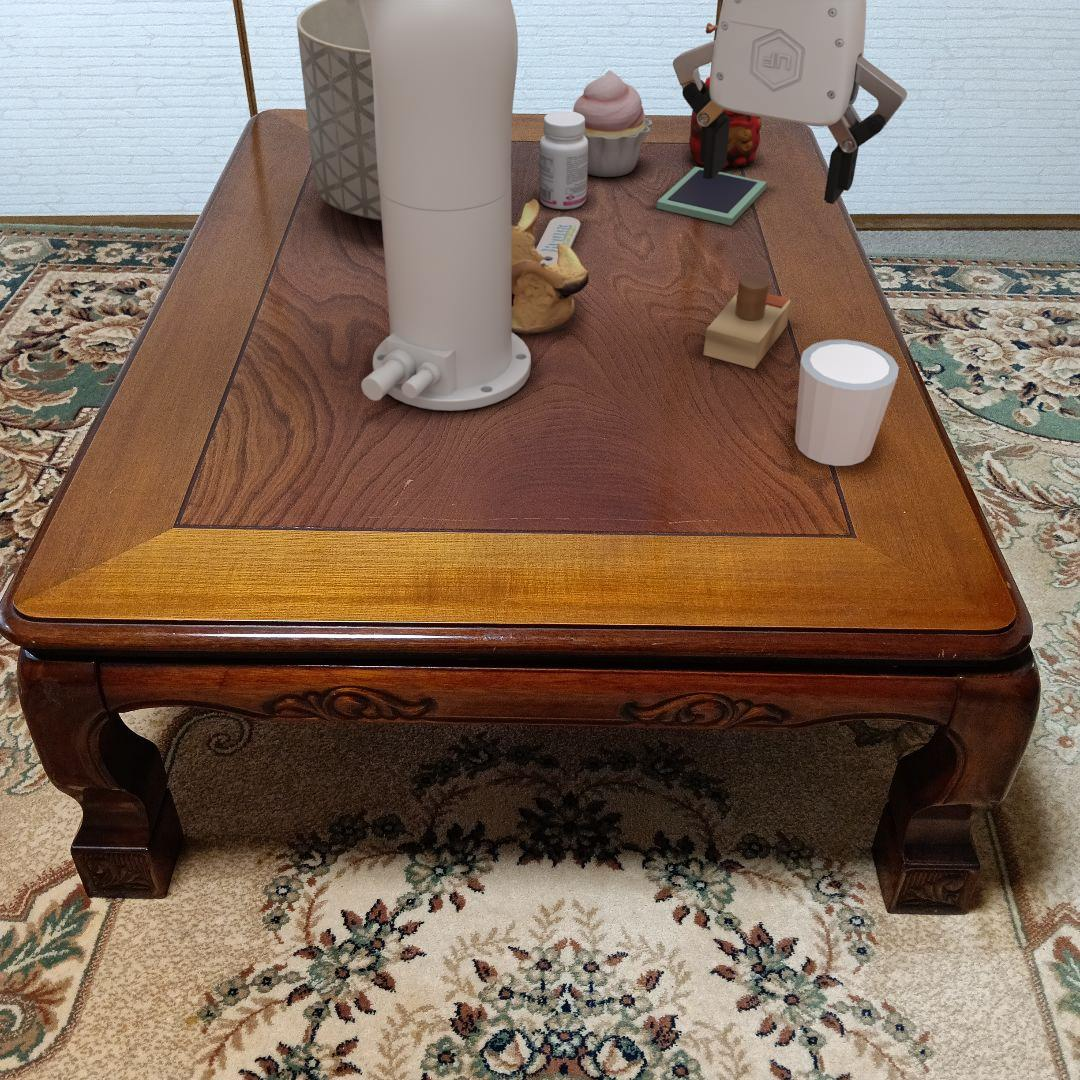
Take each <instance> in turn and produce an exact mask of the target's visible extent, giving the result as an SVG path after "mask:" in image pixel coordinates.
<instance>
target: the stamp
mask: <svg viewBox="0 0 1080 1080" xmlns="http://www.w3.org/2000/svg"><path fill="white" fill-rule="evenodd" d="M769 287H770V281H769V279H767V278H766V276H765V277H764V276H762V275H759V274H746V275H742V276H741V277H740V278H739V280H738V286H737V292H736V294H735V295H733V296H732V298H731V299H730V300H729V302H728V303H727V304H726V305H725V306H724V307H723V309H722V310H721V311H720V312H719V313H718V314H717V316H716V317H715V318H714V319H713V320H712V321H711V323H710V324H709V325H708V326H707V327H706V329H705V337H704V344H703V345H704V346H703V353H702V355H703V356H706V357H709V358H713V359H717V360H720V361H724V362H727V363H731V364H734V365H738V366H742V367H746V368H749V369H753V370H755V369H756V368H757V367H758V365H759V364H760V363H761V361H762V360H763V359H764V358H765V356H766V354H767V353H768V352H769V350H770V349H771V348H772V346H773V345H774V344H775V342H776V341H777V340H778V339H779V338H780V336H781V335H782V333H783V332H784V330H786V328H787V327H788V323H789V316H790V310H791V305H792V300H791V299H789V298H788V297H784V296H780V295H777V294H772V293H769Z"/></svg>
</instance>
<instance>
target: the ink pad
mask: <svg viewBox="0 0 1080 1080" xmlns="http://www.w3.org/2000/svg"><path fill="white" fill-rule="evenodd" d="M703 171H704V167H699V166H694V167H693V168H692V169H691V170H690V171H689V172H687V174H685V175H684V176H683V177H682V178H681V179H680V180H678V181H677V182H676V183H675V185H673V186H672V187H671V188H670V189H669V190H668V191H667V192H665V193H664V194H663V195H662V196H661V197H660V198H659V199H657V201H656V209H658V210H662V211H666V212H671V213H673V214H674V213H675V214H678V215H682V216H687V217H692V218H695V219H700V220H705V221H709V222H712V223H717V224H722V225H726V226H731V227H732V226H733V224H734V223H736V221H738V219H739V218H740V217H741V216H742V215H743V214H744V213H745V212H746V211H747V210H748V209H749V208H750V207H751V206H752V204H754V202H756V200H757V199H758V198H759V197H760V196H761V195H763V193H764V192H765V191H766V190H767V184H768V183H767V181H763V180H760V179H756V178H755V179H754V178H751V177H745V176H742V175H736V174H731V173H727V172H722V171H720V172H719V173H718V174H717V175H716V176H715V177H714V178H711V179H706V178H703Z"/></svg>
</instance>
